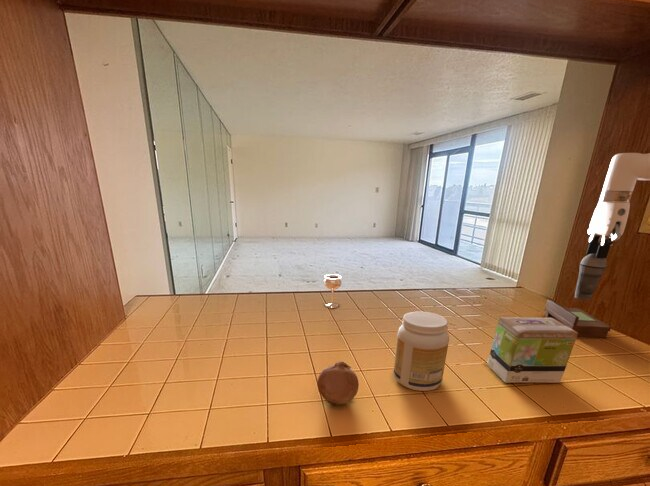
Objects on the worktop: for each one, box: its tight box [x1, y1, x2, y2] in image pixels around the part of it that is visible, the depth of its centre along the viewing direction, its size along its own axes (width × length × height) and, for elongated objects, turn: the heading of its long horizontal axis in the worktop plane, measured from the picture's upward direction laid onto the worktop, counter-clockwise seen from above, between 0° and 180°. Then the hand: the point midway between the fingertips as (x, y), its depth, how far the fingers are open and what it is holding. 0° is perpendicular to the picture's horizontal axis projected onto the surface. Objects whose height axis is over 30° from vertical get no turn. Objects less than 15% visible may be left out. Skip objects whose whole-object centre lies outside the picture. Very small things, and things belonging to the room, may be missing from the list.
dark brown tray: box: [543, 298, 612, 339], centre depth 122 cm, size 12×18×7 cm, turn 175°
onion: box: [316, 361, 360, 406], centre depth 78 cm, size 10×9×10 cm
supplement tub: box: [392, 311, 450, 392], centre depth 86 cm, size 12×12×17 cm
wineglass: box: [323, 273, 342, 309], centre depth 136 cm, size 7×7×12 cm
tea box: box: [486, 316, 578, 384], centre depth 90 cm, size 15×10×15 cm, turn 94°
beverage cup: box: [574, 253, 608, 302], centre depth 115 cm, size 7×7×20 cm
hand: (595, 255), depth 114 cm, fingers closed on beverage cup, 4 cm apart
